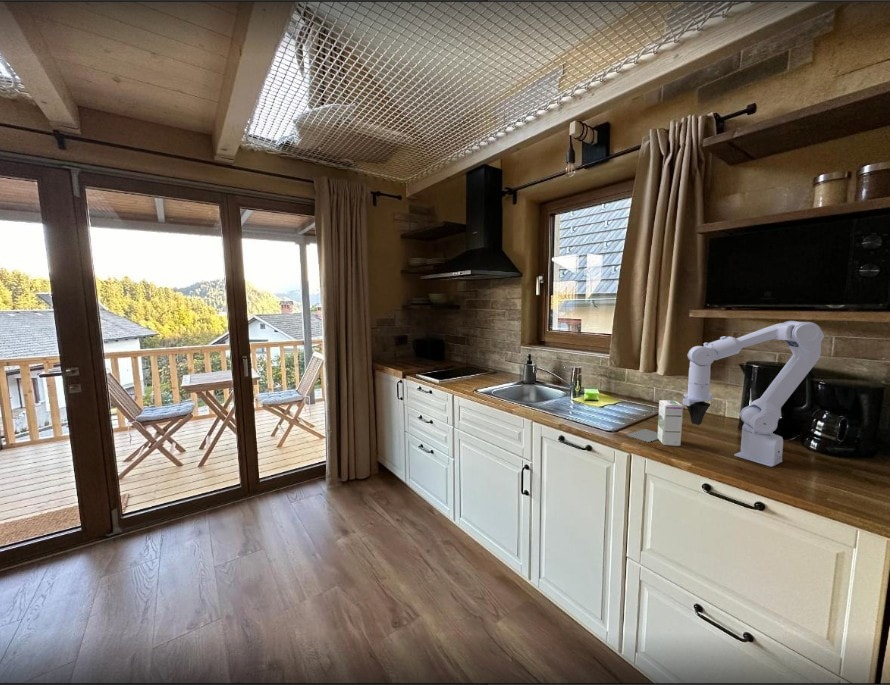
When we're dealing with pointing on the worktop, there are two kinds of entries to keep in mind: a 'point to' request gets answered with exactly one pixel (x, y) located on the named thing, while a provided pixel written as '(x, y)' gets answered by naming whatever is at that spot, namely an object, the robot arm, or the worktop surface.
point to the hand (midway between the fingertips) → (696, 423)
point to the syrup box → (670, 422)
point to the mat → (644, 435)
